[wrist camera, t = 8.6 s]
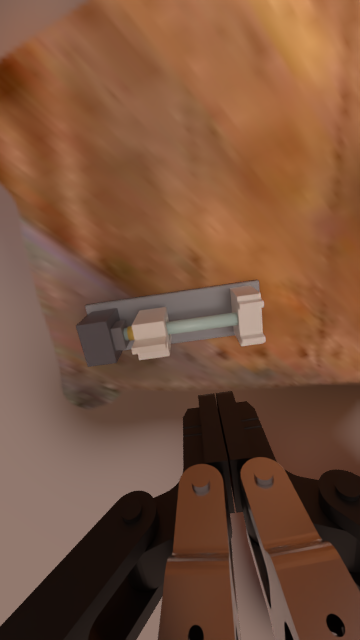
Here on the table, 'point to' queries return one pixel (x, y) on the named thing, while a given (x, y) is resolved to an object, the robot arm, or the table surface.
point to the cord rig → (175, 319)
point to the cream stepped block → (151, 334)
